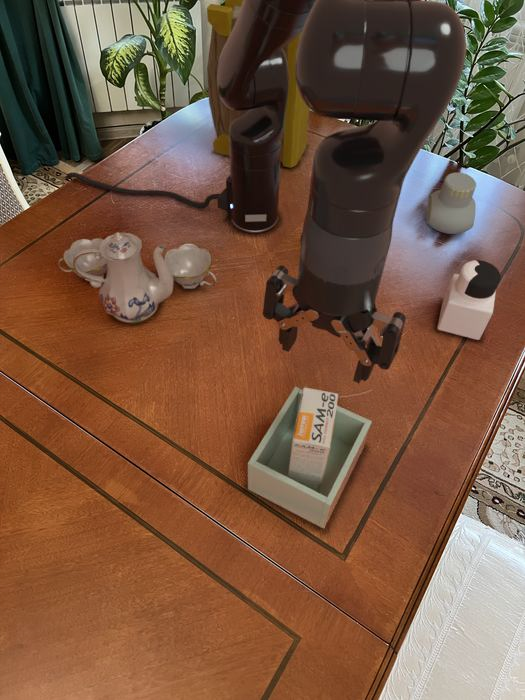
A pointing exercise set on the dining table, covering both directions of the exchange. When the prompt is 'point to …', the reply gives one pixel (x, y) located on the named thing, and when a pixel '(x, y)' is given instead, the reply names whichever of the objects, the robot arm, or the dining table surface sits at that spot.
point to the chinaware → (135, 273)
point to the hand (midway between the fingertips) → (323, 360)
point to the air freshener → (453, 205)
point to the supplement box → (312, 437)
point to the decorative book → (223, 116)
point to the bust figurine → (470, 300)
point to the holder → (274, 461)
